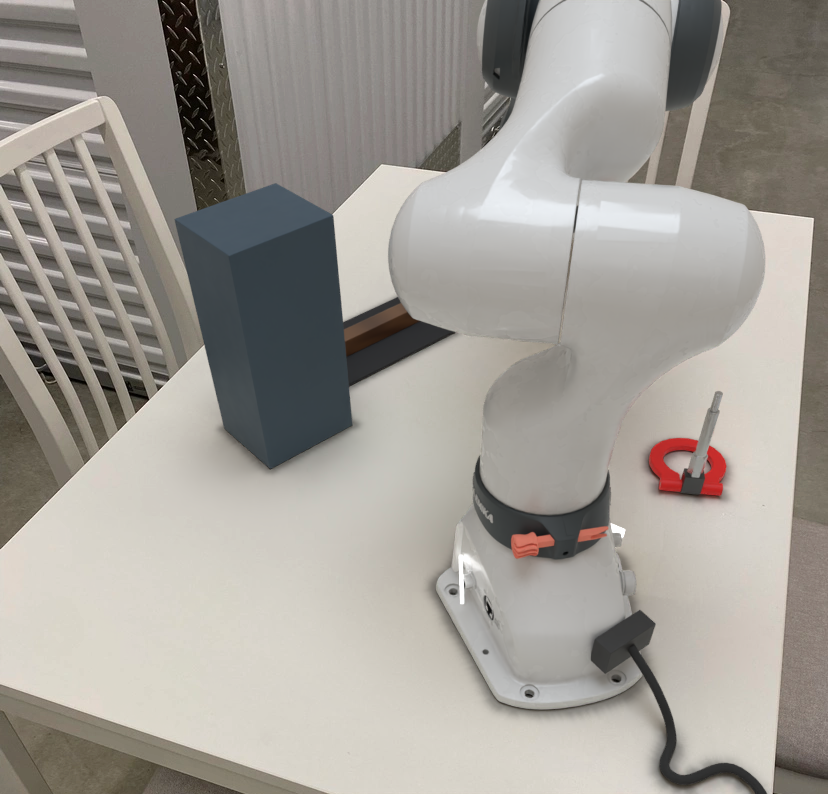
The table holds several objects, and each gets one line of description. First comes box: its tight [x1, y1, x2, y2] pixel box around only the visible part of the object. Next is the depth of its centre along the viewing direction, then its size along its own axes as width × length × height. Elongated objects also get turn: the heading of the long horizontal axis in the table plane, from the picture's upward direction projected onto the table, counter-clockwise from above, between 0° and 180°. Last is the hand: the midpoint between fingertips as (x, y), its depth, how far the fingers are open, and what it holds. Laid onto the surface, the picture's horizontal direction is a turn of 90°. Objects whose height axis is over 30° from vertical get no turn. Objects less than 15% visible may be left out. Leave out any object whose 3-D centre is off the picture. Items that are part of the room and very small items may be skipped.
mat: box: [343, 296, 456, 387], centre depth 111 cm, size 20×12×1 cm, turn 131°
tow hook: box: [648, 390, 728, 497], centre depth 88 cm, size 8×13×9 cm
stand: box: [173, 182, 353, 470], centre depth 89 cm, size 12×10×26 cm
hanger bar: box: [344, 303, 419, 357], centre depth 109 cm, size 22×2×6 cm, turn 131°
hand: (435, 271), depth 112 cm, fingers open, 8 cm apart
